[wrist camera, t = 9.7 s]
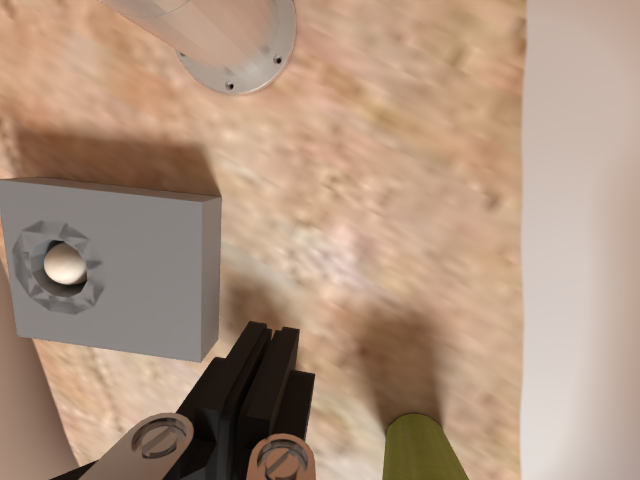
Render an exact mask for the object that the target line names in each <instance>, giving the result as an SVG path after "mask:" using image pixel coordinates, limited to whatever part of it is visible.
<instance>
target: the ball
mask: <svg viewBox="0 0 640 480" xmlns="http://www.w3.org/2000/svg"><path fill="white" fill-rule="evenodd" d="M44 268H45V271H46V273H47V275H48V276H49V277H50V278H51V279H53V280H54V281H56V282H58V283H61V284H67V285H73V284H79V283H82V282H84V281H86V280H87V268H86V264H85V262H84V261H83V259H82V257H81V256H80V254H79V252H78V251H77V250H76V249H74V248H73V247H71V246H70V245H68V244H67V243H66V242H63V243H60V244H58V245H56V246H54V247H53V248H52V249H50V250H49V252H48V253H47V254H46V257H45V259H44Z"/></svg>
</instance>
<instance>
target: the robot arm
mask: <svg viewBox="0 0 640 480" xmlns="http://www.w3.org/2000/svg"><path fill="white" fill-rule="evenodd" d="M98 1H100V2H101V3H103V4H105V5H106V6H107V7H109V8H110V9H112V10H114V11H115V12H117V13H118V14H120V15H122V16H123V17H125V18H126V19H128V20H130V21H131V22H133V23H134V24H136V25H138V26H139V27H141V28H142V29H144V30H146V31H147V32H149V33H150V34H152V35H154V36H155V37H157V38H158V39H160V40H162V41H163V42H165V43H166V44H168V45H170V46H171V47H173V48H174V49H175V50H176V53H177V55H178V57H179V59H180V61H181V62H182V64H183V65H184V67H185V68H186V70H187V71H188V72H189V73H190V74H191V75H192V76H193V77H194V78H195V79H196V80H197V81H199V82H200V83H201V84H203V85H204V86H206V87H208V88H210V89H212V90H214V91H216V92H219V93H222V94H226V95H233V96H239V95H248V94H251V93H255V92H258V91H260V90H262V89H264V88H265V87H267V86H269V85H270V84H271V83H272V82H273V81H275V80H276V79H277V78H278V76H279V75H280V74H281V73H282V72H283V70H284V69H285V67H286V65H287V64H288V62H289V60H290V58H291V55H292V52H293V49H294V46H295V41H296V34H297V18H296V13H295V7H294V3H293V0H98ZM278 59H281V63H280V64H278V63H277V61H278ZM231 85H234V87H233V89H231V88H230V87H231ZM299 333H300V329H295V328H289V327H283V328H282V331H279V330H276V331H275V334H274V336H273V338H272V340H271V336H272V329H267V325H266V324H264V323H258V322H252V321H250V322H249V323H248V324H247V326H246V328H245V329H244V331H243V332H242V334H241V335H240V337H239V339H238V340H237V342H236V343H235V345H234V346H233V348H232V350H231V351H230V353H229V354H228V356H227V357H226V358H220V357H215V358H214V359H213V360H212V361H211V363H210V364H209V366H208V367H207V369H206V370H205V371H204V373H203V374H202V376H201V377H200V379H199V380H198V381H197V383H196V384H195V386H194V387H193V389H192V390H191V392H190V393H189V394H188V396H187V397H186V399H185V400H184V402H183V403H182V404H181V406H180V407H179V409H178V410H177V412H176V413H161V414H157V415H153V416H150V417H148V418H146V419H144V420H142V421H140V422H139V423H138V424H137V425H135V426H134V427H133V428H132V429H131V430H129V431H128V432H127V433H126V434H125V435H124V436H123V437H122V438H121V439H120V440H119V441H118V442H117V443H116V444H115V445H114V446H113V447H112V448H111V449H110V450H109V451H108V452H107V453H106V454H105V455H103V456H102V457H101V458H100V459H99V460H97V461H94V462H92V463H89V464H87V465H84V466H82V467H79V468H77V469H75V470H72V471H70V472H67V473H65V474H63V475H60V476H57V477H55V478H52V479H50V480H316V473H315V460H314V455H313V452H312V450H311V449H310V447H309V445H308V444H306V443H305V438H306V432H307V426H308V420H309V414H310V408H311V401H312V394H313V387H314V380H315V374H313V373H308V372H302V371H296V370H295V365H296V357H297V349H298V341H299Z"/></svg>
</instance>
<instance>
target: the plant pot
mask: <svg viewBox="0 0 640 480" xmlns="http://www.w3.org/2000/svg"><path fill="white" fill-rule="evenodd" d="M382 480H469V479H468V477H467V475H466V473H465V471H464V469H463V467H462V465H461V464H460V462H459V460H458V458H457V456H456V454H455V452H454V451H453V449H452V447H451V445H450V443H449V441H448V439H447V437H446V436H445V434H444V432H443V430H442V428H441V427H440V425H439V424H437V423H436V422H435V421H434V420H432V419H431V418H430V417H428V416H425V415H421V414H407V415H403V416H401V417H399V418H397V420H396V421H394V422H393V423H392V424H391V425H390V426H389V427H388V429H387V433H386V442H385V455H384V467H383V479H382Z"/></svg>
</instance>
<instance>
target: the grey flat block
mask: <svg viewBox="0 0 640 480" xmlns="http://www.w3.org/2000/svg"><path fill="white" fill-rule="evenodd" d="M221 203H222V197H218V196H209V195H200V194H191V193H182V192H173V191H163V190H154V189H145V188H136V187H127V186H118V185H109V184H99V183H90V182H81V181H72V180H63V179H54V178H45V177H30V178H12V179H0V214H1V221H2V228H3V236H4V243H5V250H6V257H7V264H8V272H9V279H10V286H11V293H12V300H13V307H14V315H15V322H16V329H17V336H20V337H27V338H34V339H41V340H48V341H55V342H61V343H68V344H75V345H82V346H89V347H96V348H103V349H109V350H116V351H123V352H130V353H137V354H144V355H151V356H158V357H164V358H171V359H178V360H185V361H192V362H199V363H201V362H202V360H203V359H204V358H205V356H206V355H207V354H208V352H209V351H210V350H211V348H212V347H213V346H214V344H215V343H216V342H217V340H218V329H219V287H220V245H221ZM63 242H66V243H67V244H68V245H70V246H71V247H73V248H74V249H76V250H77V251H78V252H79V254H80V256H81V257H82V259H83V261H84V262H85V264H86V268H87V280H86V281H84V282H82V283H79V284H73V285H67V284H61V283H58V282H56V281H54V280H53V279H51V278H50V277H49V276H48V275H47V273H46V271H45V268H44V259H45V257H46V254H47V253H48V252H49V250H50V249H52V248H53V247H54V246H56V245H58V244H60V243H63Z"/></svg>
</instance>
